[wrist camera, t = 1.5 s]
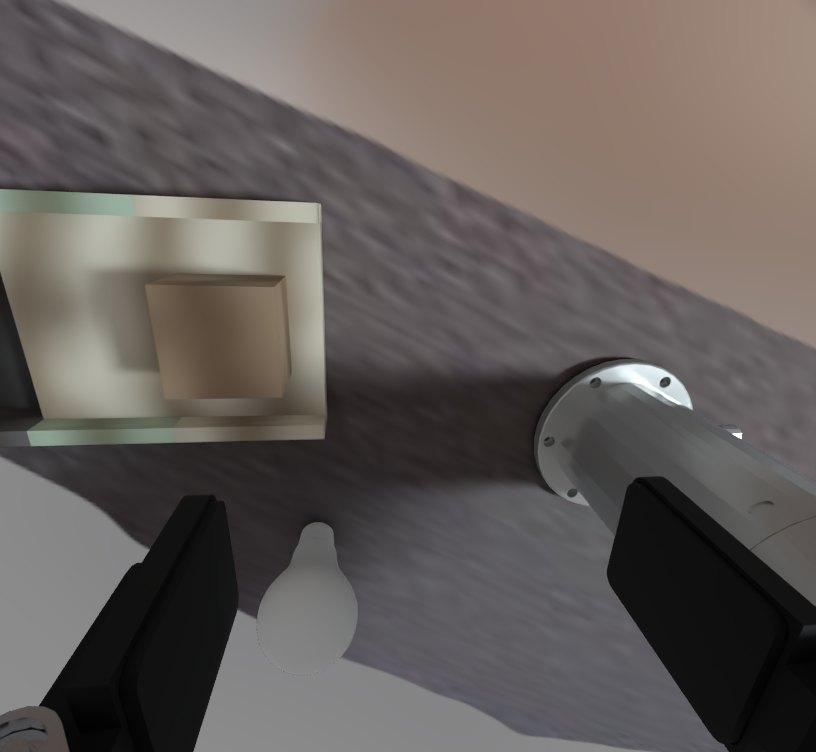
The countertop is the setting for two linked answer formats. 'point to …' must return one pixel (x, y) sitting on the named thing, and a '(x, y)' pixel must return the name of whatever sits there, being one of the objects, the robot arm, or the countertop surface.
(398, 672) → the countertop surface
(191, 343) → the walnut block
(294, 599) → the lightbulb
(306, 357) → the trap lane
